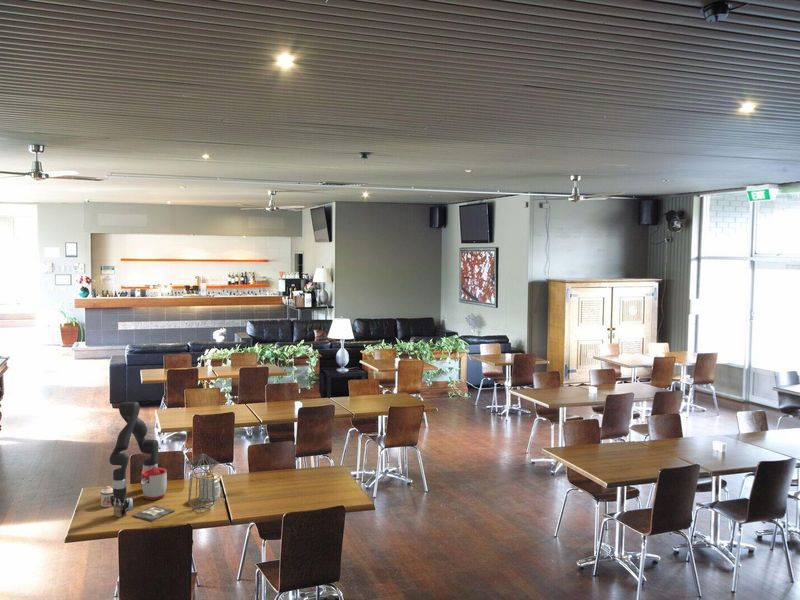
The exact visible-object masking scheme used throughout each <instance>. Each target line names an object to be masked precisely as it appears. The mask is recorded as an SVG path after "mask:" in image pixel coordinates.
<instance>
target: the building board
mask: <svg viewBox="0 0 800 600" xmlns="http://www.w3.org/2000/svg"><path fill="white" fill-rule="evenodd" d="M175 512H176V510H175V509H171V508H168V507H165V506H159V505H155V504H154V505H152V506H150V507H148V508H145V509H142V510H140V511H137V512H135V513H133V514H132V515H131V516H132V517H134V518H137V519H141V520H144V521H149V522H154V521H157V520H159V519H161V518H164V517H167V516H168V515H170V514H173V513H175Z"/></svg>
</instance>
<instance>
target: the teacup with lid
mask: <svg viewBox="0 0 800 600" xmlns="http://www.w3.org/2000/svg"><path fill="white" fill-rule="evenodd" d="M112 495H113V487H111V486H109V485H108V486H106V488H103V489H101V490H100V506H101V507H102V508H112V507H113V506H112V504H111V499H110V496H112ZM113 503H114V501H113Z"/></svg>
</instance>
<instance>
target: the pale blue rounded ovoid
mask: <svg viewBox="0 0 800 600" xmlns="http://www.w3.org/2000/svg"><path fill="white" fill-rule="evenodd" d="M126 498H127V499H130V500H129V506H128V508H126V512H127V511H129V512H130V511H132V510H134V509H133V508H134V504H133V503H134V502H133V501H134V500H133V498H132V497H131V498H130V497H126Z"/></svg>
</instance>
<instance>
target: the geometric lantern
mask: <svg viewBox="0 0 800 600" xmlns="http://www.w3.org/2000/svg"><path fill="white" fill-rule="evenodd" d="M205 462H206V464H207V465H205ZM185 464H186V465H187V466H188V468H189V471H190V473H189V475H190V476H189V488H188V501H187V503H188V504H189V506H191V507H192V511H193V512H195V513H197V514H203V513H206V512H210V511H211V507H213V506H214V505H215V503H216V500H215V494H214V496H213V501H212V500H210V499H208V482H207V498H201V499H202V501H201V499H200V479H203V478H200V476H202V475H203V474H204V478H208V477H205V473H208V471H210V473H211V475H212V476H210V477H213V478H212V495H213V491H214V475H213V473H214V469H213V468H215V467H216V466H217V465H219V464H220V462H218V461H217V460H216V459H214V458H212V457H210V456H208V455H207V454H205V453H200V454H198V455H196V456H195V457H193V458H191V459H189V460H187V461H185ZM202 464H203V465H202ZM203 467H204V468H203ZM207 467H208V469H206V468H207ZM196 469H201V470H202V471H200V472H195V470H196ZM210 473H209V474H210ZM197 474H200V476H199V477H198V476H197ZM194 475H195V476H194ZM193 478H194V479H196V484H195V485H196V486H195V499H194V500H191V499H192V498H191V495H192V485H193ZM198 482H199V483H198ZM198 484H199V485H198ZM197 496H198V497H197ZM203 496H204V481H203ZM203 499H207V500H210V501H209V502H212V503H211V504H205V503H206V502H208V501H207V500H206V501H203ZM197 501H201V502H202V503H199V504H197ZM191 502H194V503H195V504H192V503H191ZM206 509H208V510H206ZM196 510H198V511H196ZM202 510H205V511H202Z"/></svg>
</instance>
